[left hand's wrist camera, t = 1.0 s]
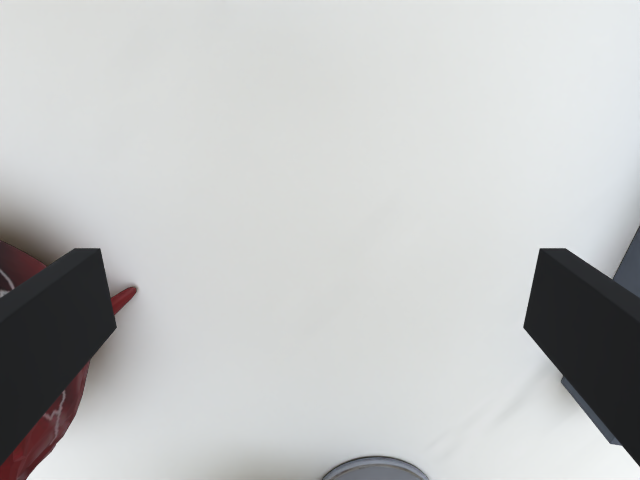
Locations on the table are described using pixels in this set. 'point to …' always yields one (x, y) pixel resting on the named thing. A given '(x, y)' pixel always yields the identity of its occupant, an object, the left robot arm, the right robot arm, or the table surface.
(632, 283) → the post
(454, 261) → the table surface
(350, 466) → the left robot arm
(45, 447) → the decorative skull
